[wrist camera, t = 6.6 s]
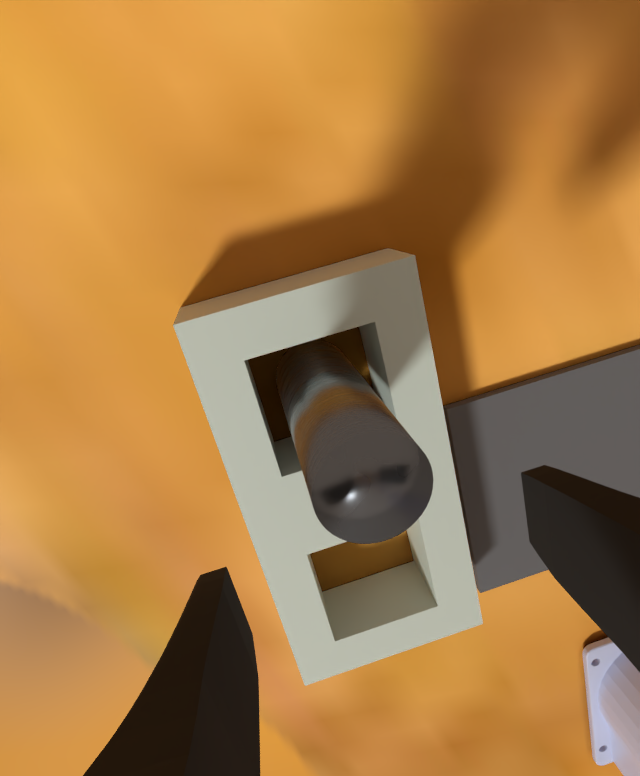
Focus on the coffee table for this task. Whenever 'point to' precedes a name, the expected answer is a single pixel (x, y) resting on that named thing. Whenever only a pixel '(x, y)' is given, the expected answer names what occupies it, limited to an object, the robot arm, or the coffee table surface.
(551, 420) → the rubber mat
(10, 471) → the coffee table surface
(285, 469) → the socket block
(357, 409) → the steel peg
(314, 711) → the coffee table surface
